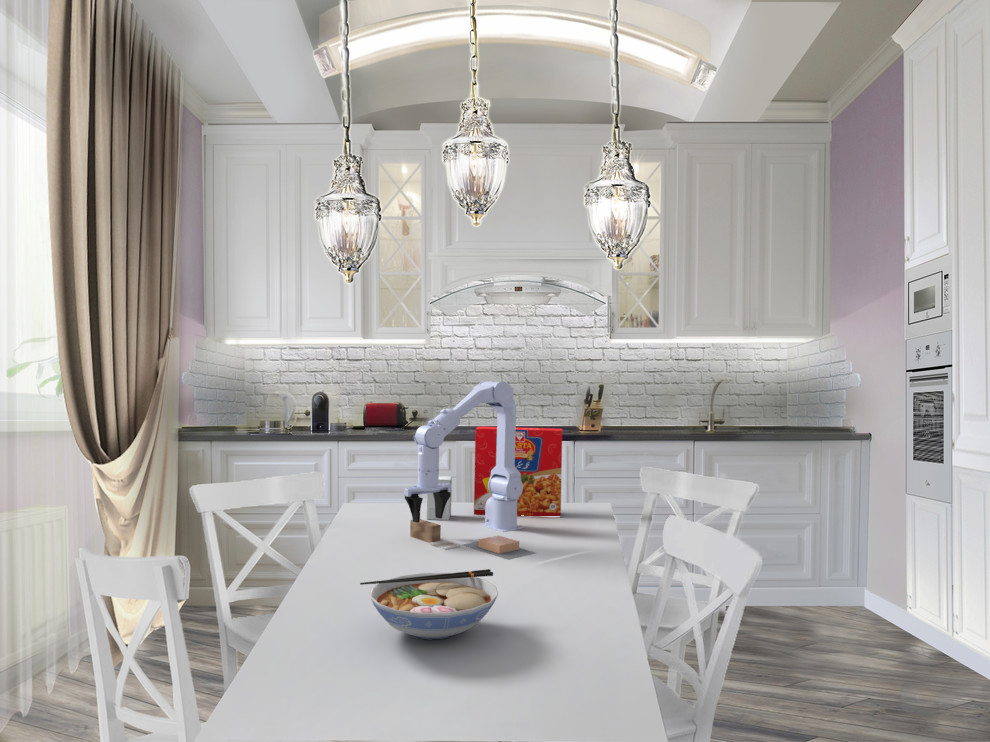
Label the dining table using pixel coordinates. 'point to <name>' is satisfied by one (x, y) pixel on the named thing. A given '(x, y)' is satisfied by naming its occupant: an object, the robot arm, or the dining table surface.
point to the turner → (430, 534)
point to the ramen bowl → (434, 602)
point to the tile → (499, 544)
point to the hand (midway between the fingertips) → (427, 519)
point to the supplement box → (432, 502)
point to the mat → (507, 555)
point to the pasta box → (523, 469)
